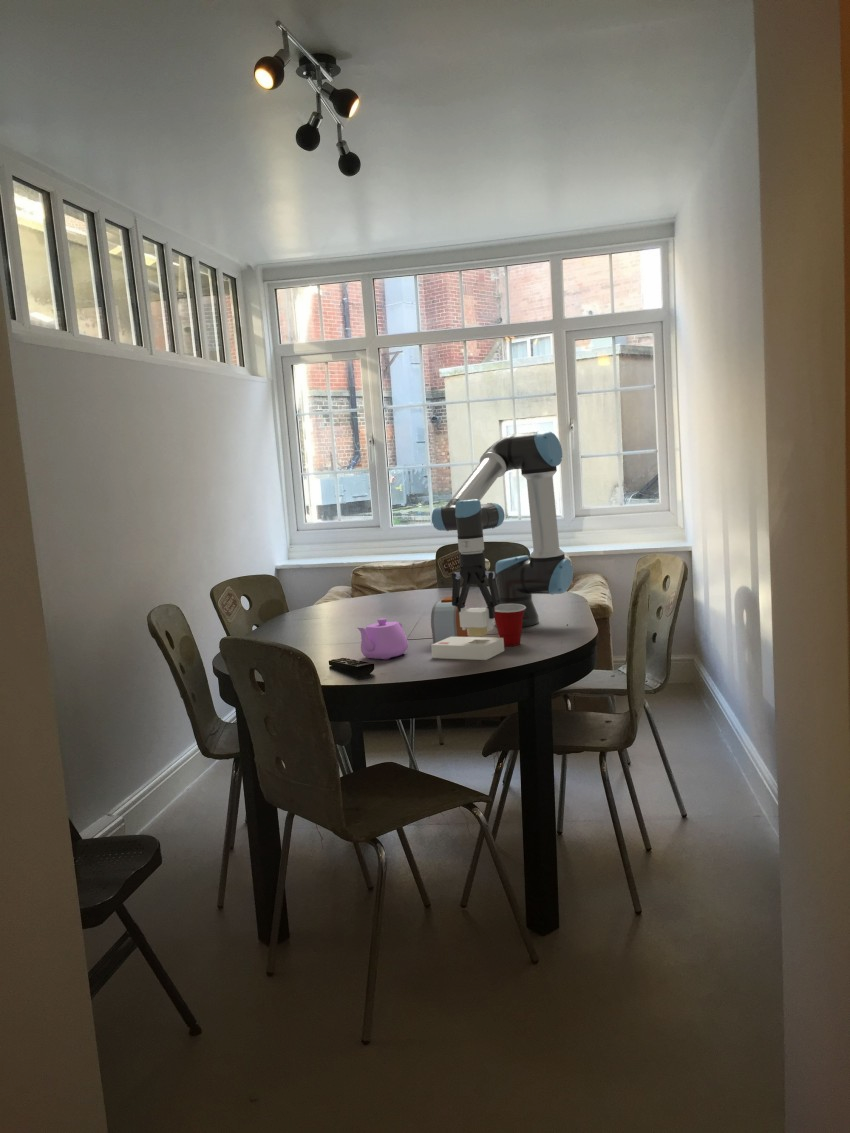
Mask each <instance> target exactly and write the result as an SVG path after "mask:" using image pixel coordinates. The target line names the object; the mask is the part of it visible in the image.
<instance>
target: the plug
mask: <svg viewBox="0 0 850 1133" xmlns="http://www.w3.org/2000/svg"><path fill="white" fill-rule="evenodd" d="M486 608H487V607H469V608H467V609H466V610H464V611H461V612H459V617H460V627H469V629H468V637H484V636H486V635H488V631H487V621H486V610H485V609H486ZM493 624H495V618H493Z"/></svg>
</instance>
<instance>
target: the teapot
mask: <svg viewBox="0 0 850 1133" xmlns="http://www.w3.org/2000/svg"><path fill="white" fill-rule="evenodd" d="M387 620H388V618H385V617H384V618H382V617H381V618H378V619H377V622H375V623H371V624H369V625H368V624H367V625H366V626H365V628H364V627H357V629H358V631H359V632H360V635H361V642H360V652H361V653H362V655H363V657H365V658H368V659H370V658H372V659H373V658H374V659H382V660H386V661H387V660H390V659H391V658H394V657H398V656H402V655H403V654H405V653H406V651H407V650H408V647H409V642H408V637H407V635H406V633H405V631H404V629H403V624H402V623H401V622H399V621H387Z"/></svg>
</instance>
